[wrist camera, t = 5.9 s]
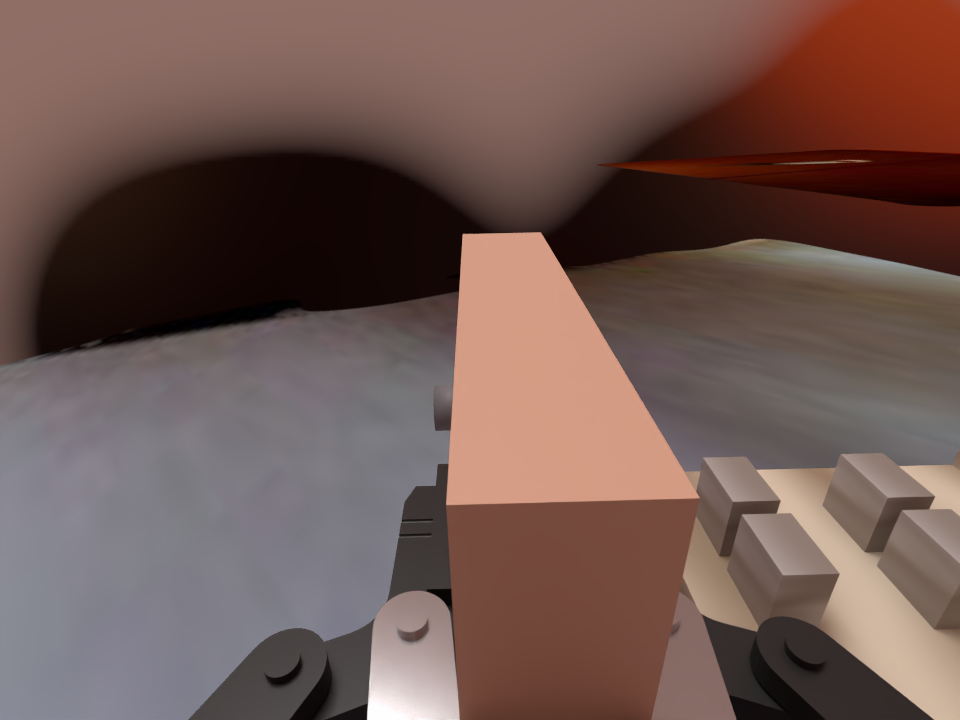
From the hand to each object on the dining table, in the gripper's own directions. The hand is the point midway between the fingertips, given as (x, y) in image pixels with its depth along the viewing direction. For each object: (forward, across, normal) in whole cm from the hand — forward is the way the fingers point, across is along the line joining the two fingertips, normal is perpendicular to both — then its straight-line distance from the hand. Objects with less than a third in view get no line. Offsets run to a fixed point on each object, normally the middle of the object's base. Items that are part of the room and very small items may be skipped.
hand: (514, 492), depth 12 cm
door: (0, 0, +7) cm, 7 cm away
